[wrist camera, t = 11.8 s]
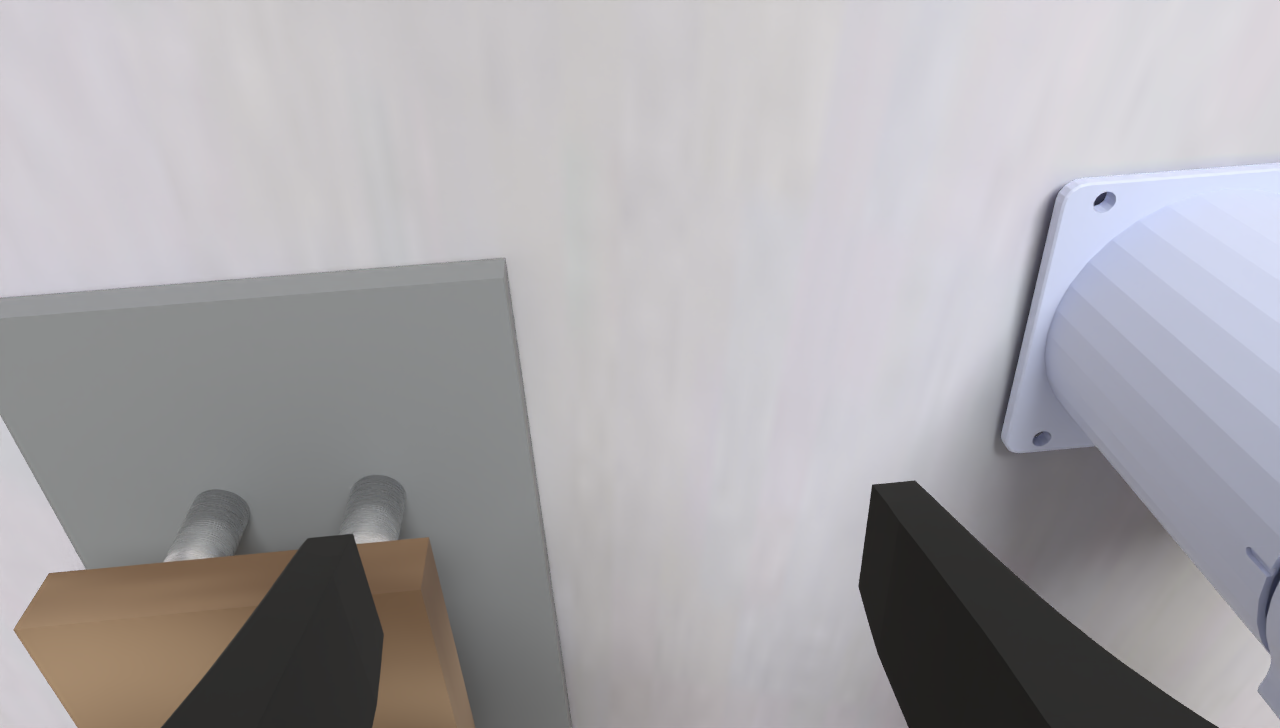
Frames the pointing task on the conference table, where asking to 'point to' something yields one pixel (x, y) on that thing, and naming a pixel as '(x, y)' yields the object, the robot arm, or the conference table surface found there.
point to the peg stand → (303, 439)
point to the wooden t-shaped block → (228, 634)
